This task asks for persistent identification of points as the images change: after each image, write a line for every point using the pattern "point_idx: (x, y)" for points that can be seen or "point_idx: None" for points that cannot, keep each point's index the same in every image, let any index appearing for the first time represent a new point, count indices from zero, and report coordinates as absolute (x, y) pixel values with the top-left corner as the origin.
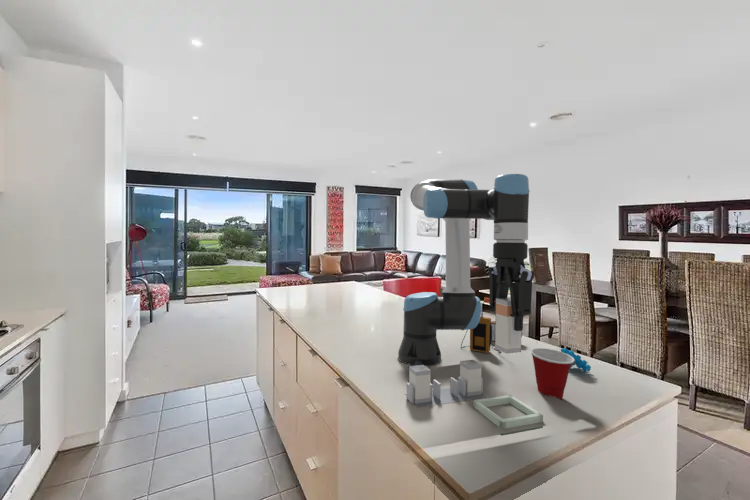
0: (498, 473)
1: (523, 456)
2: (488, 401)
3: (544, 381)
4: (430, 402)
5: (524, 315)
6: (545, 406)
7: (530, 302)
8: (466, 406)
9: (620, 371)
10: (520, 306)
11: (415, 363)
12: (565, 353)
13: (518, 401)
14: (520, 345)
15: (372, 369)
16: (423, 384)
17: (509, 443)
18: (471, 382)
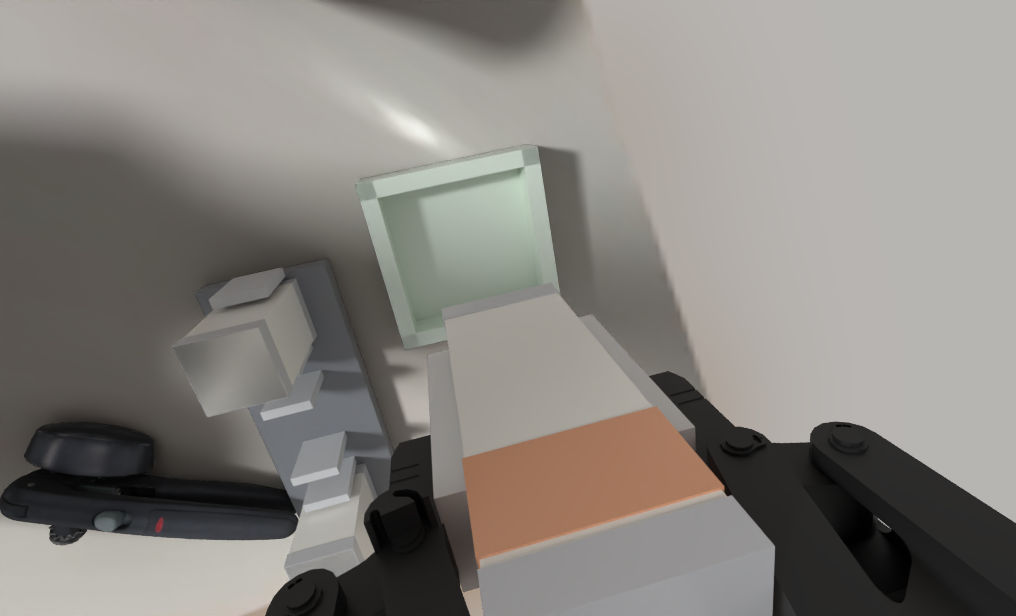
0: (687, 363)
1: (647, 282)
2: (405, 294)
3: None
4: (371, 462)
5: (793, 452)
6: (358, 15)
7: (1010, 532)
8: (358, 340)
9: None
10: (903, 590)
11: (56, 524)
12: None
13: (420, 182)
14: (563, 301)
15: (4, 612)
16: (365, 528)
17: (589, 292)
18: (299, 343)
